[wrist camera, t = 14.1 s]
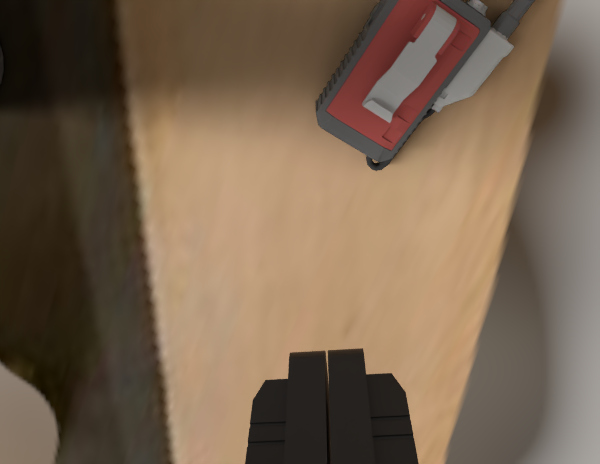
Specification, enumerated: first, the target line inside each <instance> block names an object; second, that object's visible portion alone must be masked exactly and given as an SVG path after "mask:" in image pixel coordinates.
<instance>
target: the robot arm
mask: <svg viewBox="0 0 600 464" xmlns="http://www.w3.org/2000/svg"><path fill="white" fill-rule="evenodd" d="M3 71H4V65H3V53H2V49H1V45H0V84H1V81H2V76H3ZM328 371H329V384H328V373H327V363H326V353H325V351H312V352H294V353H290V356H289V374H288V379H278V380H265V382H264V383H263V385H262V387H261V388H260V390H259V391H258V393H257V395H256V396H255V398H254V399H253V404H252V412H251V420H250V429H249V437H248V447H247V454H246V462H245V464H418V458H417V453H416V447H415V442H414V438H413V431H412V425H411V420H410V414H409V409H408V403H407V398H406V392H405V391H404V390H403V388H402V387H401V386H400V384H399V383H398V382H397V380H396V379H395V377H394V376H393V375H392V373H387V374H368V375H366V370H365V361H364V352H363V348H362V349H344V350H328Z"/></svg>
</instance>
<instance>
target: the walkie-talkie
mask: <svg viewBox="0 0 600 464" xmlns="http://www.w3.org/2000/svg"><path fill="white" fill-rule="evenodd" d="M534 1H535V0H514V1H513V3H512V4H511V5H510V7H509V8H508V9H507V10H506V11H504V12H502V14H501V15H500V16H499V18H498V19H497V20H496V22H495V23H494V24H493V26H492V27H491V28H490V25H491V21H489V20H488V19H487V18H485V17H484V16H485V15H486V14H485V12H486V10H487V9H488V7H487V6H486V5H485V4H483V3H482V2H481V1H479V0H470V1H469V2H468V1H467V2H466V3H467V4H466V3H465V2H463V1H462V0H381V1H380V2H379V3H377V5H376V6H375V8H374V9H373V11H372V12H371V14H370V18H369V19H368V21H367V22H366V24H365V26H364V27H363V29H364V30H363V31H362V33H359V38H358V39H357V40H355V41H354V45H353V47H350V49H349V50H350V51H349V53H348V54H346V55H345V59H344V61H341V65H340V67H339V68H337V69H336V73H335V75H334V74H333V75H332V79H331V81H328V85H327V87H326V88H324V89H323V93H322V94H320V95H319V99H318V101H316V115H317V121H318V125H319V126H320V127H321V128H322V129H324V130H325V131H327V132H329V133H330V134H332V135H334V136H335V137H337V138H339V139H340V140H342V141H344V142H345V143H347V144H349V145H350V146H352V147H354V148H355V149H357V150H359V151H360V152H362V153H364V154H365V155H367V157H366V160H367V165H368V166H369V167H370V168H371V169H372V170H376V171H377V170H382V169H383V168H384V167H386V166H387V165H388V164H389V163H390V162H391V160H392V159H393V158H394V156H395V155H396V154H397V152H398V151H399V150H400V148H401V147H402V146H403V145H404V143H405V142H406V141H407V139H408V138H409V137H410V135H411V134H412V133H413V131H414V130H415V129H416V127H417V126H418V125H419V124H420V122H421V121H422V120H423V119H425V118H427V117H429V116H430V115H432V114H433V113H434V112H435V111H437V112H438V113H439V112H440V111H441V109H442V108H443V107H444V106H446V105H449V104H451V103H454V102H457V101H460V100H463V99H465V98H468V97H471V96H473V95H474V94H475V92H476V91H477V90H478V89H479V87H480V86H481V85H482V83H483V82H484V81H485V80H486V78H487V77H488V76H489V75H490V73H491V72H492V71H493V70H494V68H495V67H496V66H497V65H498V63H499V62H500V61H501V60H502V58H503V57H506V56H508V54H509V53H510V52H511V50H512V49H513V48H514V46H513V45H512V44H511V43H509V42H508V41H507V40H508V38H509V36H510V35H511V34H512V33H513V31H514V30H515V29H516V28H517V26H518V25H519V20H520V19H521V18H522V16H523V15H524V14H525V12H526V11H527V10H528V9H529V7H530V6H531V5H532V3H533V2H534ZM372 159H374V160H376V161H378V162H379V163H374V162H373V161H372Z"/></svg>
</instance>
